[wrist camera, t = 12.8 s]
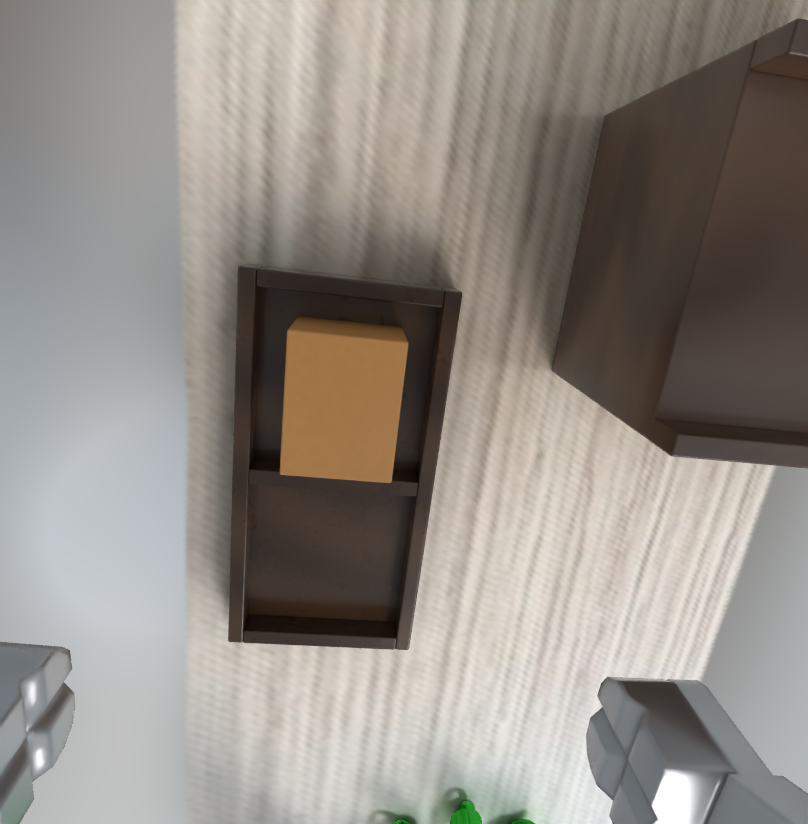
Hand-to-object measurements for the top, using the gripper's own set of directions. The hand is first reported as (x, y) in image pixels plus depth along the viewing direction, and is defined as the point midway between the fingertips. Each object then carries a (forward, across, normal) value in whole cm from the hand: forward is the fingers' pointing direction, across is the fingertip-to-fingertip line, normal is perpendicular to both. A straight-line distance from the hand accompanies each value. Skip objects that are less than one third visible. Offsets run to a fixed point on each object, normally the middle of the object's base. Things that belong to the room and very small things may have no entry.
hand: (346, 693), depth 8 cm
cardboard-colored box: (+20, +1, +1) cm, 20 cm away
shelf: (+20, +1, +5) cm, 21 cm away
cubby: (+20, -15, -7) cm, 26 cm away
